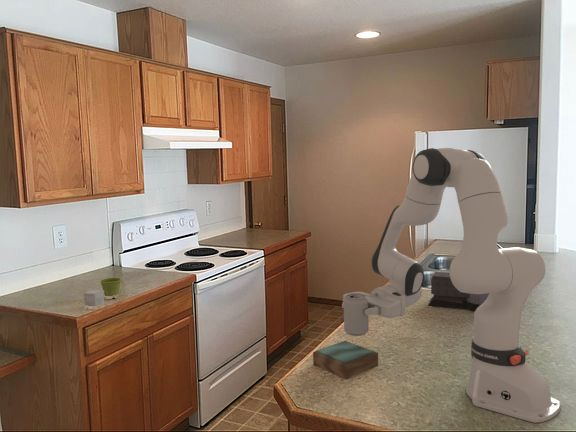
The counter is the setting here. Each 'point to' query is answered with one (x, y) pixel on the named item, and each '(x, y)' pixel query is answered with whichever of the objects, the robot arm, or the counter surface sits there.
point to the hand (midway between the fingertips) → (353, 309)
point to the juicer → (452, 294)
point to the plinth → (345, 359)
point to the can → (355, 314)
